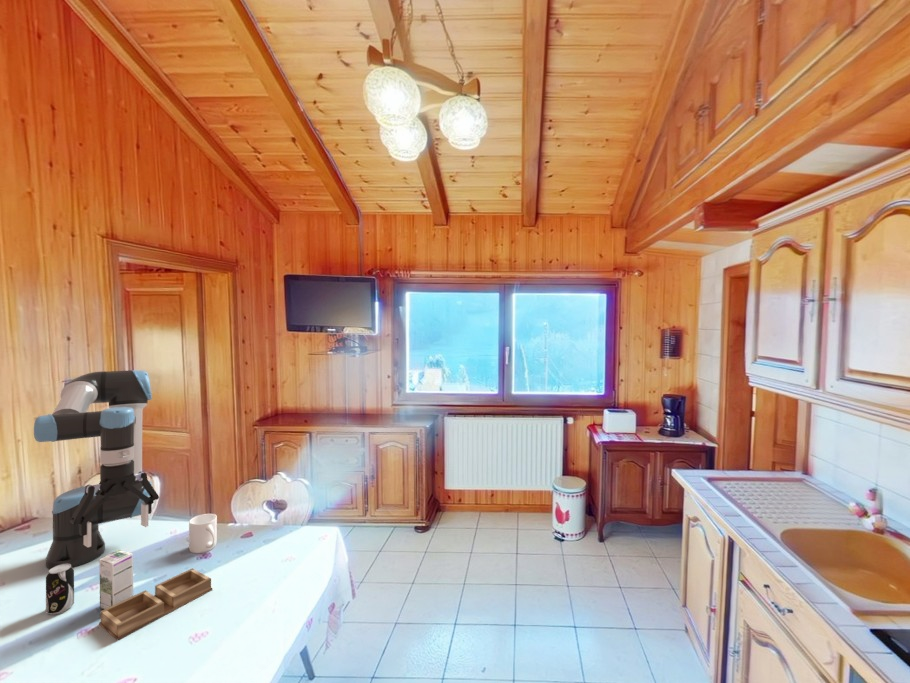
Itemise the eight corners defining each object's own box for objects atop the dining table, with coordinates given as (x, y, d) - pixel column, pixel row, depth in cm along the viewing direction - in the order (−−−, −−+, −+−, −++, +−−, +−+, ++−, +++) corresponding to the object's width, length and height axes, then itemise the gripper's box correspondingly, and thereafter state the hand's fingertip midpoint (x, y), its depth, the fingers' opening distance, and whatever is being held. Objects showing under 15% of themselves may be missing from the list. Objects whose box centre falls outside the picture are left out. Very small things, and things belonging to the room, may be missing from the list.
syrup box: (134, 600, 120) (134, 552, 119) (111, 613, 114) (111, 562, 114) (121, 596, 122) (121, 548, 121) (98, 609, 116) (98, 558, 116)
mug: (200, 559, 142) (200, 529, 141) (184, 549, 148) (184, 520, 148) (225, 549, 149) (226, 520, 148) (209, 539, 155) (209, 511, 155)
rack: (99, 624, 110) (99, 611, 110) (192, 578, 131) (192, 567, 131) (117, 640, 105) (117, 626, 104) (212, 589, 125) (212, 578, 125)
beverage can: (41, 618, 112) (41, 575, 111) (52, 605, 117) (52, 564, 117) (68, 613, 114) (68, 571, 114) (77, 600, 119) (77, 560, 119)
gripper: (65, 477, 104) (65, 559, 105) (172, 453, 126) (171, 521, 127) (53, 472, 108) (54, 551, 108) (159, 449, 130) (159, 515, 130)
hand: (117, 535), depth 117 cm, fingers open, 13 cm apart
